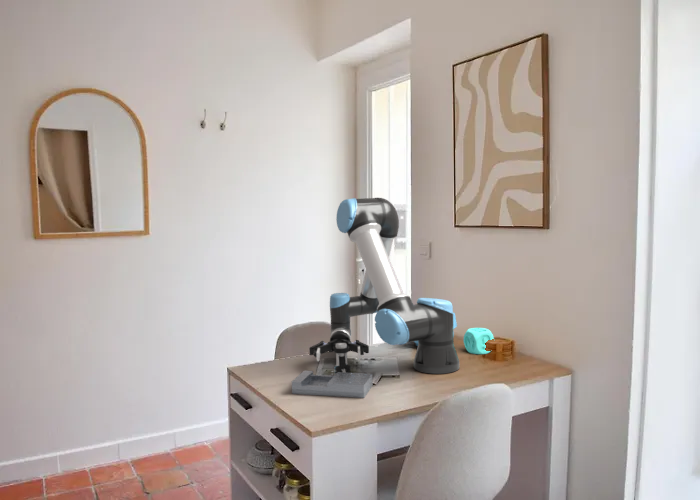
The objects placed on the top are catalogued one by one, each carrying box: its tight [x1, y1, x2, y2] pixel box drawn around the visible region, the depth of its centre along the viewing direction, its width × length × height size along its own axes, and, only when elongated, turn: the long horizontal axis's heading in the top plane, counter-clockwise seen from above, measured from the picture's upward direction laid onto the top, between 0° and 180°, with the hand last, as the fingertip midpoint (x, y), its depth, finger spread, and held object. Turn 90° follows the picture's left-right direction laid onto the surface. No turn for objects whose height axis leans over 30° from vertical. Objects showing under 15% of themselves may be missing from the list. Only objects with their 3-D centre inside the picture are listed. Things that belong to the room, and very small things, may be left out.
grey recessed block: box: [291, 370, 374, 399], centre depth 168 cm, size 22×11×4 cm, turn 75°
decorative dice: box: [463, 327, 495, 355], centre depth 204 cm, size 8×8×8 cm
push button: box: [330, 343, 351, 376], centre depth 182 cm, size 7×5×10 cm
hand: (338, 356), depth 182 cm, fingers open, 13 cm apart
